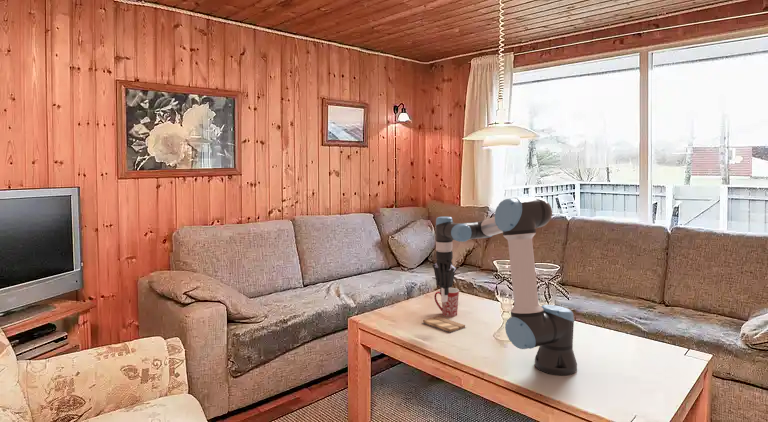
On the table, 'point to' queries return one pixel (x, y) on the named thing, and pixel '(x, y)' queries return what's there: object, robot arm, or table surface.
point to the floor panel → (449, 323)
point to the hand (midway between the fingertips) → (444, 301)
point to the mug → (449, 303)
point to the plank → (441, 324)
